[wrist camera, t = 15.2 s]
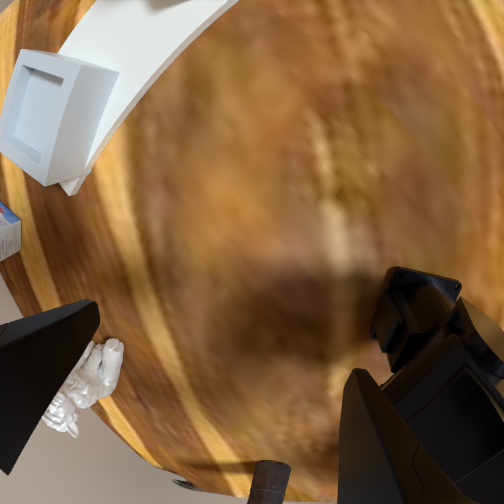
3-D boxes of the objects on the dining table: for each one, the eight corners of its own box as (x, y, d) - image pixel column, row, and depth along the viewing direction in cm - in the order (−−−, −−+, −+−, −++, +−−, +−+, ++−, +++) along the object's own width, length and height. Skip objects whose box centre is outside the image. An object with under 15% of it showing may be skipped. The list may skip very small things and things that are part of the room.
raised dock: (127, 74, 18) (81, 64, 13) (90, 173, 22) (45, 186, 17) (63, 54, 18) (21, 48, 13) (35, 139, 22) (-6, 147, 16)
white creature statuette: (125, 338, 28) (62, 417, 17) (142, 390, 32) (97, 463, 21) (66, 320, 30) (4, 379, 19) (85, 371, 33) (38, 428, 22)
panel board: (228, -99, 10) (226, -105, 9) (324, -56, 11) (324, -62, 10) (26, 124, 21) (19, 125, 20) (76, 193, 23) (69, 196, 22)
